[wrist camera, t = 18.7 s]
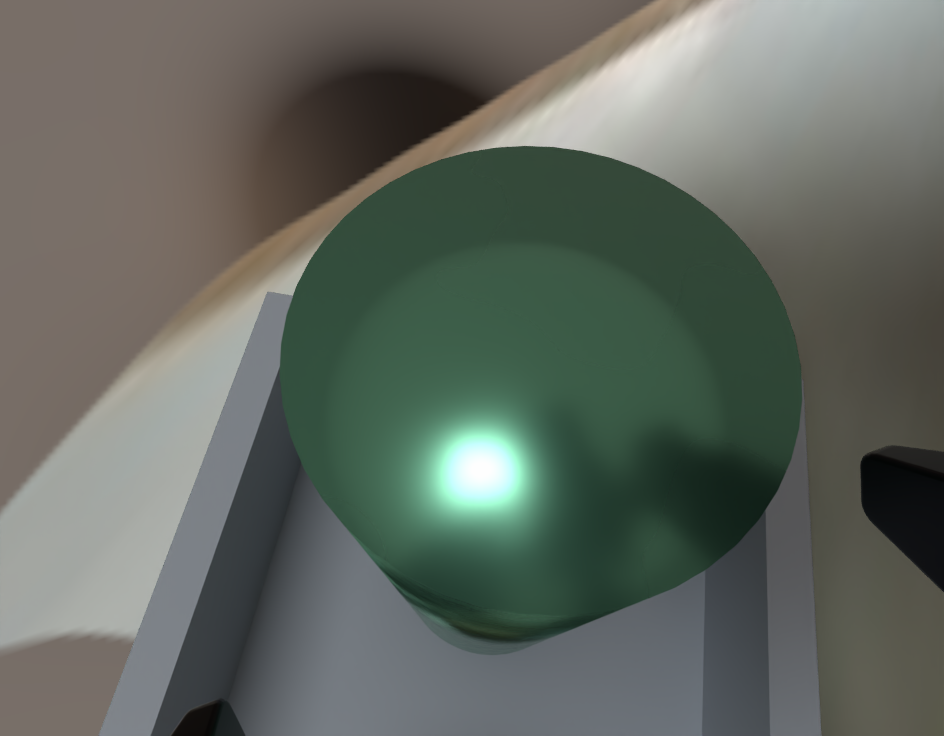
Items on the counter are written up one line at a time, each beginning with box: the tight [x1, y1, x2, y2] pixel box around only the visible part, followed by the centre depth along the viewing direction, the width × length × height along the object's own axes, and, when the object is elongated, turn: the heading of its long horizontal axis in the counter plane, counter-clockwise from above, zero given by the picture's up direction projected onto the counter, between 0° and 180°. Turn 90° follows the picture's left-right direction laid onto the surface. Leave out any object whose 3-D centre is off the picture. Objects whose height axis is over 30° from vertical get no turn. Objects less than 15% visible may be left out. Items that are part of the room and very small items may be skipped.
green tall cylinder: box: [280, 146, 802, 655], centre depth 12 cm, size 5×5×13 cm
